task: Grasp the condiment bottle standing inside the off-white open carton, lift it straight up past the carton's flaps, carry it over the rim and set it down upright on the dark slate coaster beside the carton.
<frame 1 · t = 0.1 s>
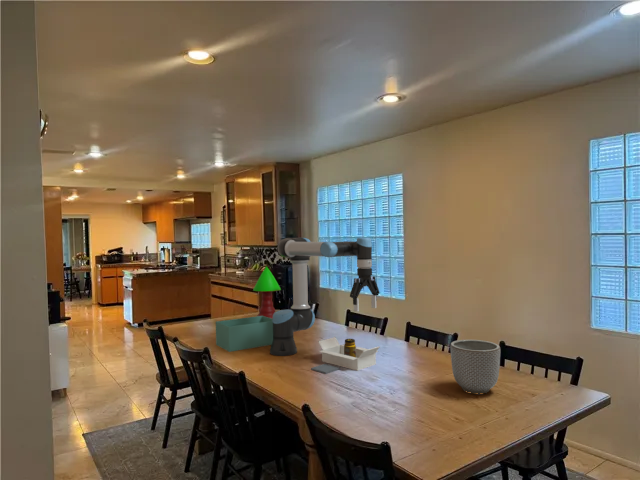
hand: (365, 309, 226), 28 cm above the table, fingers open, 13 cm apart
box: (247, 344, 272), on the table
condiment: (348, 363, 229), resting in carton
coaster: (325, 369, 218), on the table
carton: (348, 362, 229), on the table
planter: (475, 390, 186), on the table
table lamp: (267, 329, 314), on the table
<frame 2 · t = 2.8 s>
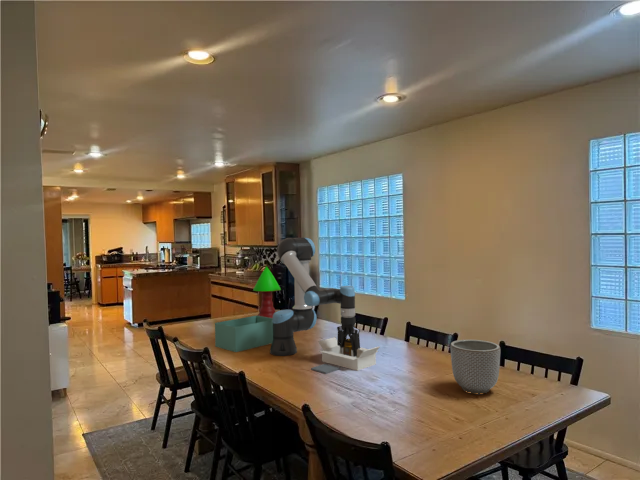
hand: (348, 360, 228), 1 cm above the table, fingers closed on condiment, 6 cm apart
condiment: (348, 363, 229), resting in carton, touching gripper
when the fingers open (3 cm above the table, at t = 9.7 s): condiment drops 1 cm, resting on coaster.
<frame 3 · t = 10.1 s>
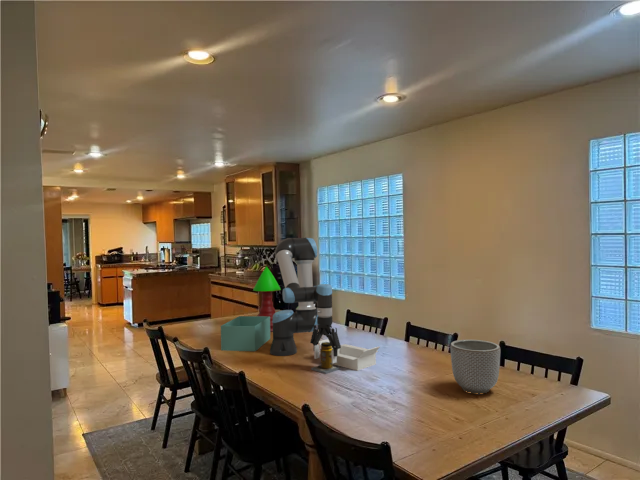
hand: (325, 360, 218), 4 cm above the table, fingers open, 11 cm apart
condiment: (325, 368, 218), point 1 cm above the table, touching coaster
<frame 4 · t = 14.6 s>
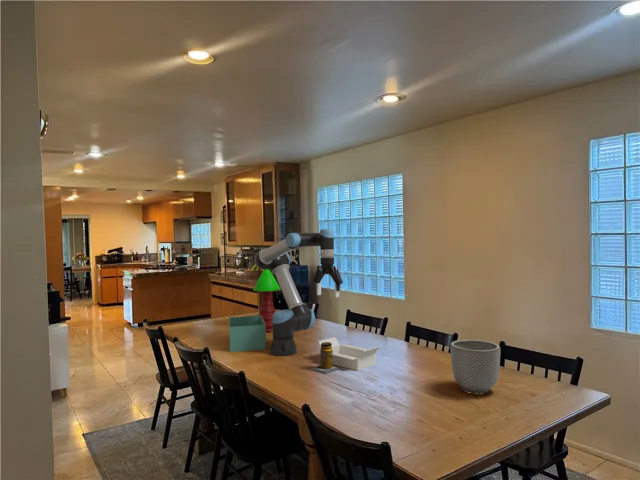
hand: (327, 296, 242), 33 cm above the table, fingers open, 13 cm apart
at the end: condiment inside the target area on the coaster (0.3 cm from its centre), point 0.6 cm above the coaster's base; condiment tilted 0°; the gripper is holding nothing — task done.
